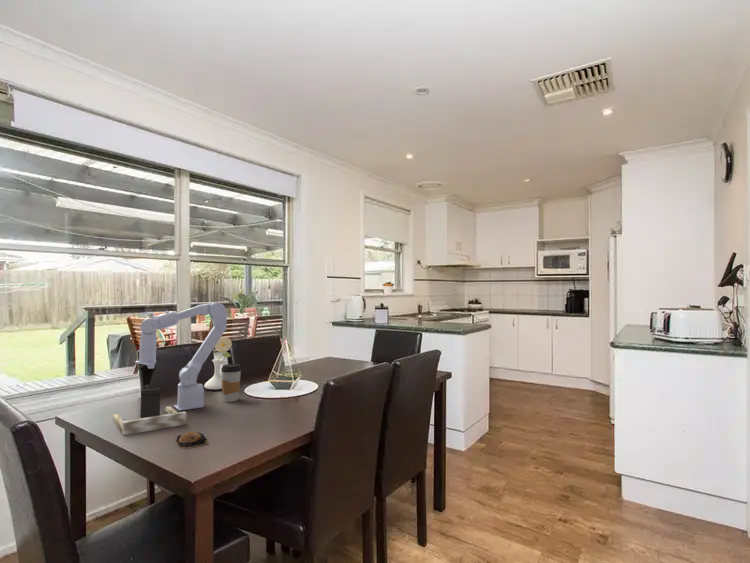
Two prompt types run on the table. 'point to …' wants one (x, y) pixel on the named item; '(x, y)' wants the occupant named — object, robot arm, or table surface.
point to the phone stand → (150, 402)
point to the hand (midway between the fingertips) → (146, 384)
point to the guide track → (151, 422)
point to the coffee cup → (230, 382)
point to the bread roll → (191, 440)
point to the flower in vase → (219, 363)
